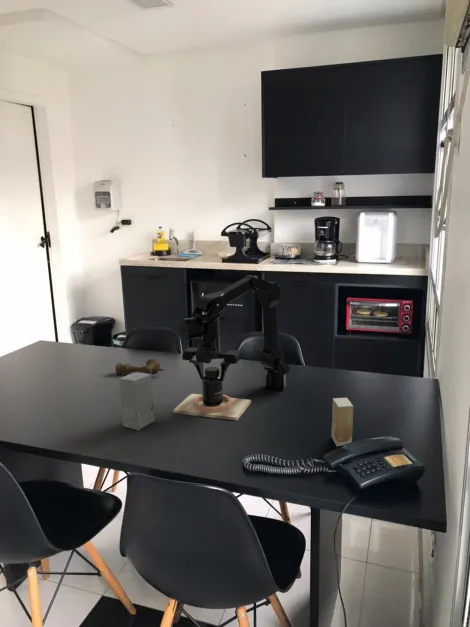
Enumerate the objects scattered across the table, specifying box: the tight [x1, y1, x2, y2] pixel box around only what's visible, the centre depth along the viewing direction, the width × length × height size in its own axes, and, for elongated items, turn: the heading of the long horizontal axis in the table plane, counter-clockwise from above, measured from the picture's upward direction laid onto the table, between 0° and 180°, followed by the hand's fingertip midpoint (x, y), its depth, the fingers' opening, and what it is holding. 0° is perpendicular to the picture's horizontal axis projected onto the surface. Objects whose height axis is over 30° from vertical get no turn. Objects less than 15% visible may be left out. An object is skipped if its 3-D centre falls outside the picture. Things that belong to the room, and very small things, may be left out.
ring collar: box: [194, 394, 232, 413], centre depth 169 cm, size 12×12×2 cm
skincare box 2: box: [331, 397, 354, 448], centre depth 142 cm, size 6×4×12 cm
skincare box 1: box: [118, 372, 156, 431], centre depth 156 cm, size 8×7×16 cm
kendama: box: [115, 358, 165, 378], centre depth 202 cm, size 6×10×20 cm
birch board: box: [172, 393, 252, 421], centre depth 169 cm, size 22×15×1 cm
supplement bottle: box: [201, 366, 224, 406], centre depth 168 cm, size 7×7×12 cm
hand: (212, 380), depth 167 cm, fingers closed on supplement bottle, 7 cm apart
